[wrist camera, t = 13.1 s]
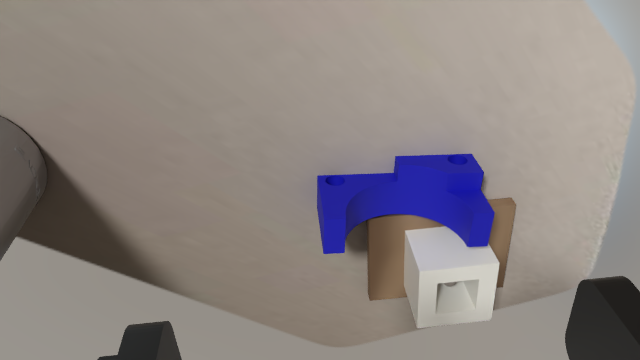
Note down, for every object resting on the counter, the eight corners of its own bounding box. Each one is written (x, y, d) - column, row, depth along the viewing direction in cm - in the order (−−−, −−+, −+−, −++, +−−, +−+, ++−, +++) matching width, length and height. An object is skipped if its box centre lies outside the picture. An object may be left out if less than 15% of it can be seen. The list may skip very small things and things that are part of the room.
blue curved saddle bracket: (470, 152, 42) (498, 194, 37) (462, 200, 44) (487, 246, 39) (317, 157, 41) (324, 201, 36) (317, 206, 44) (323, 253, 38)
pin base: (368, 292, 49) (376, 331, 45) (366, 211, 44) (376, 247, 40) (498, 279, 49) (518, 316, 45) (511, 197, 44) (534, 231, 40)
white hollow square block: (405, 230, 44) (419, 271, 40) (477, 223, 44) (499, 263, 40) (403, 284, 47) (417, 328, 43) (471, 277, 47) (491, 320, 43)
